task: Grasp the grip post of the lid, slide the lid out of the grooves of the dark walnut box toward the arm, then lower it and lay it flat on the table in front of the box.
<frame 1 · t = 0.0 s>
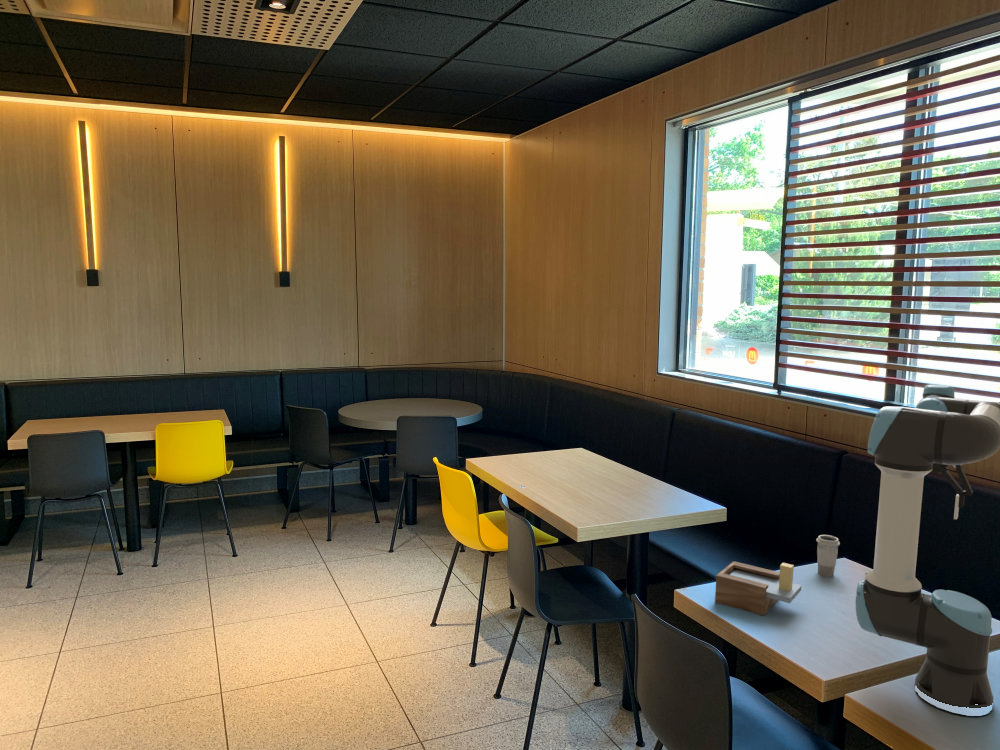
hand: (927, 513, 211), 28 cm above the table, fingers open, 13 cm apart
lid: (761, 587, 214), point 5 cm above the table, touching case
cup: (825, 574, 238), on the table
smartphone: (886, 585, 231), on the table
case: (747, 600, 217), on the table
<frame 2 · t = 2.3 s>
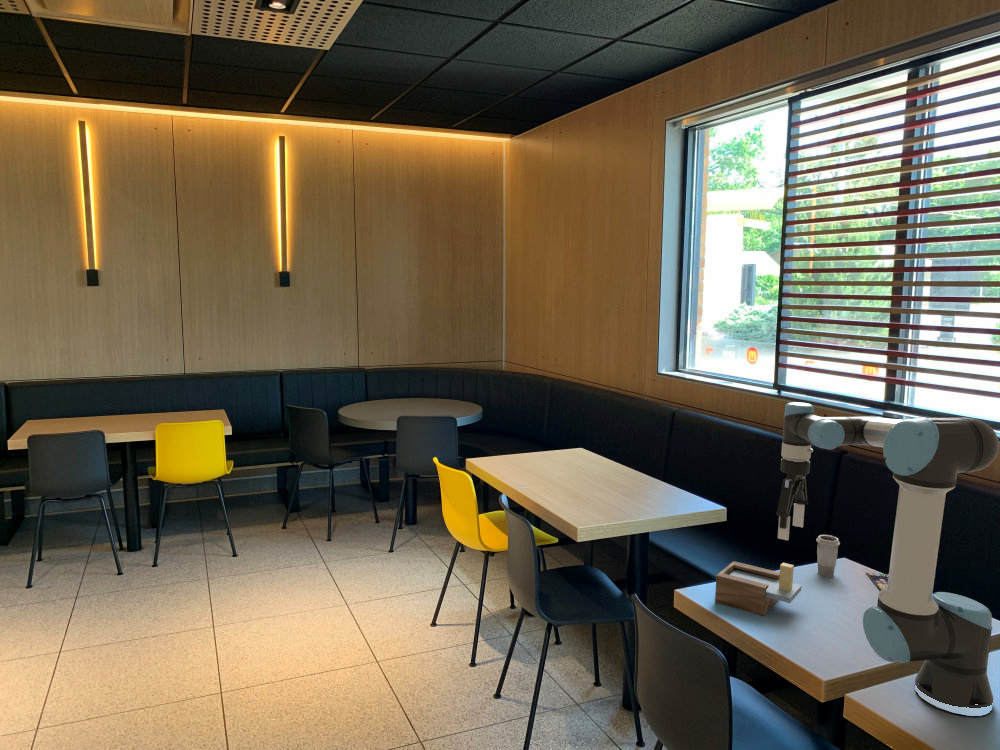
hand: (790, 532, 208), 23 cm above the table, fingers open, 13 cm apart
nothing on the table moved.
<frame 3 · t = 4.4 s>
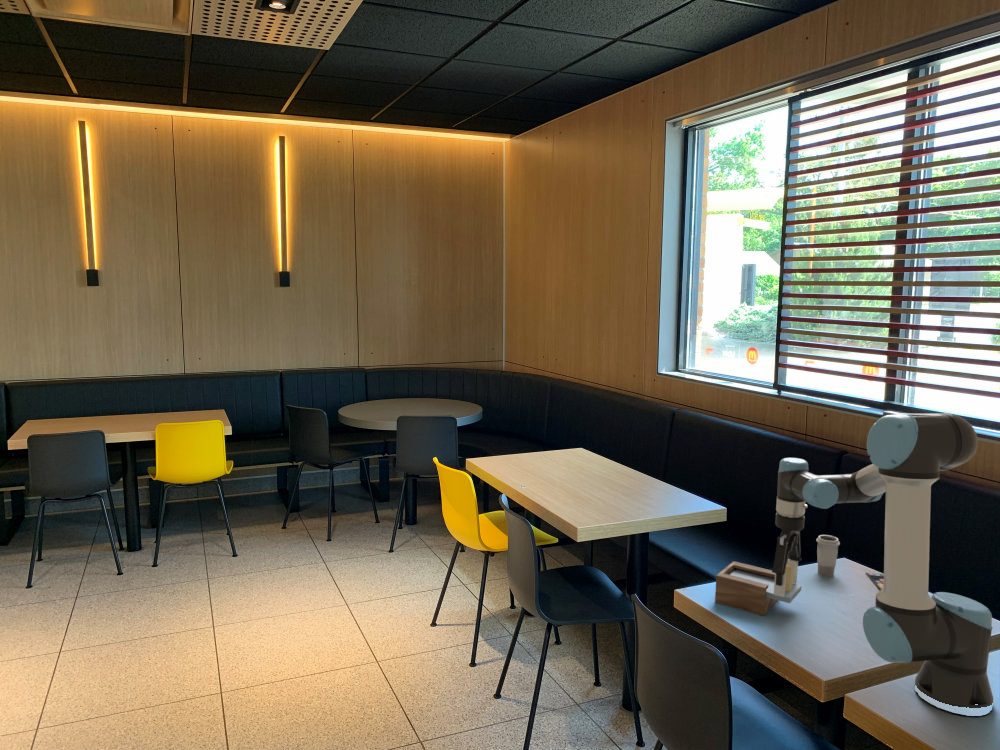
hand: (785, 588, 210), 7 cm above the table, fingers closed on lid, 11 cm apart
lid: (761, 587, 214), point 5 cm above the table, touching case, gripper
everything else where it was.
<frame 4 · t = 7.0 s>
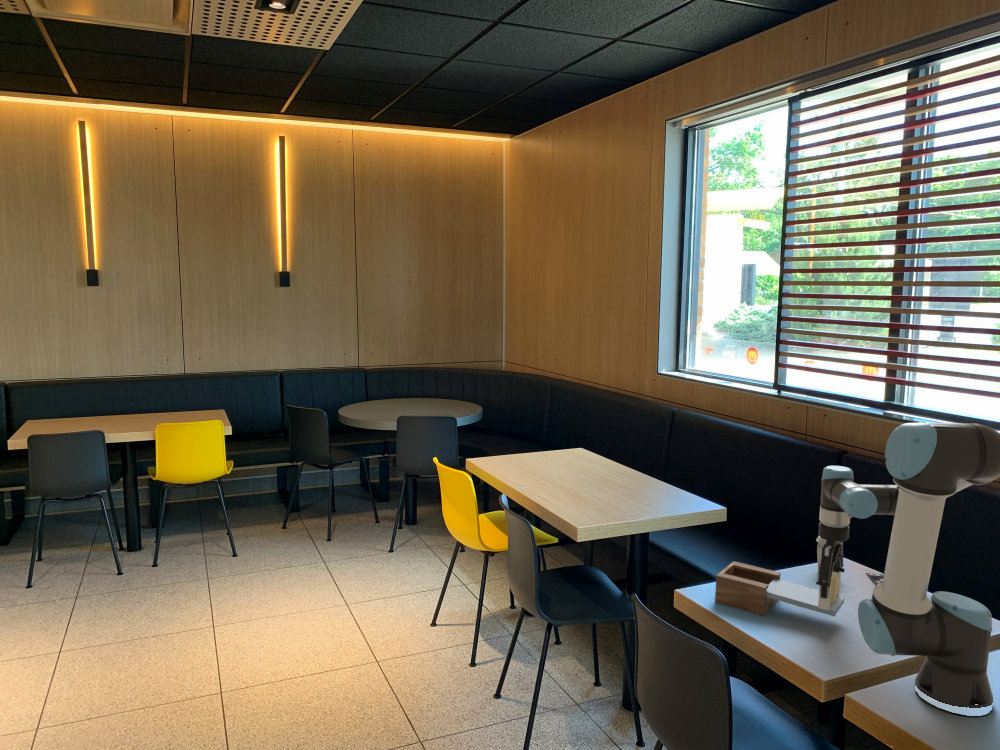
hand: (828, 601, 203), 6 cm above the table, fingers closed on lid, 11 cm apart
lid: (802, 599, 207), point 5 cm above the table, touching gripper
everything else where it was.
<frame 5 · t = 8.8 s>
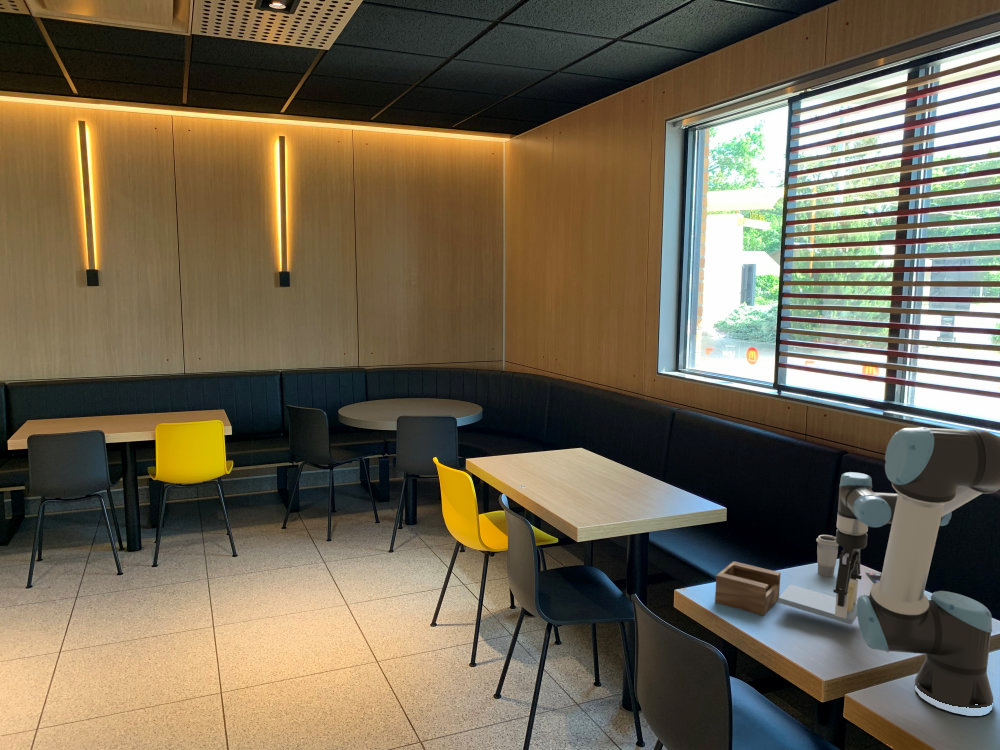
hand: (845, 609, 201), 5 cm above the table, fingers closed on lid, 11 cm apart
lid: (819, 606, 205), point 4 cm above the table, touching gripper
everything else where it was.
when the fingers open (2 cm above the table, at t = 9.9 s): lid drops 2 cm, on the table.
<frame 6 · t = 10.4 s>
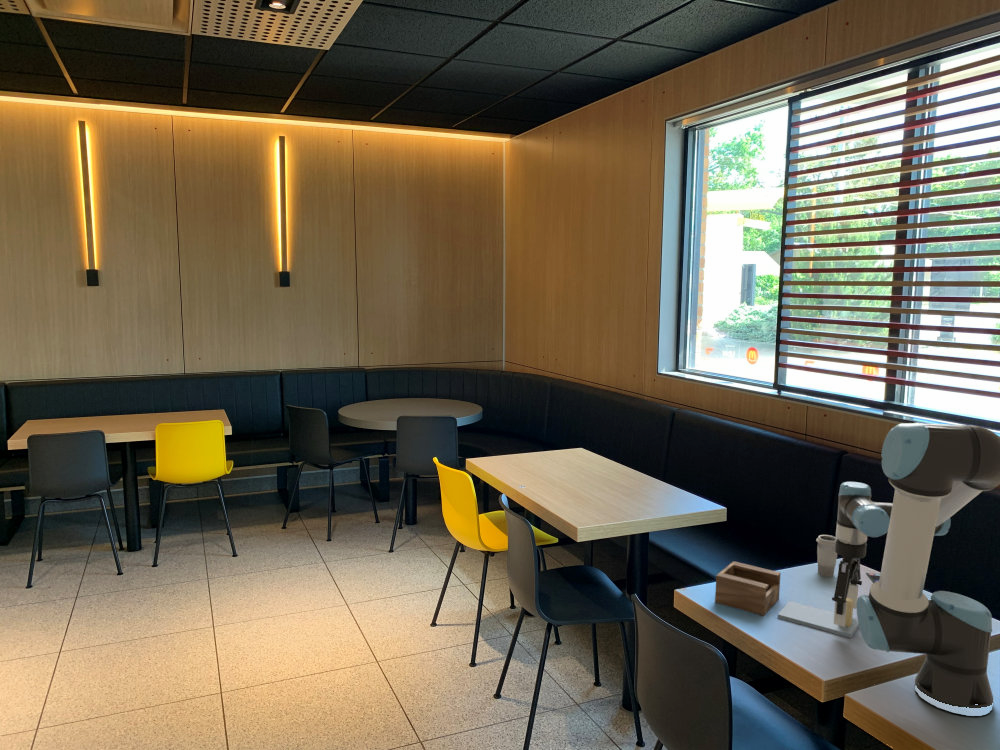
hand: (845, 615, 201), 3 cm above the table, fingers open, 13 cm apart
lid: (818, 622, 205), on the table
everything else where it was.
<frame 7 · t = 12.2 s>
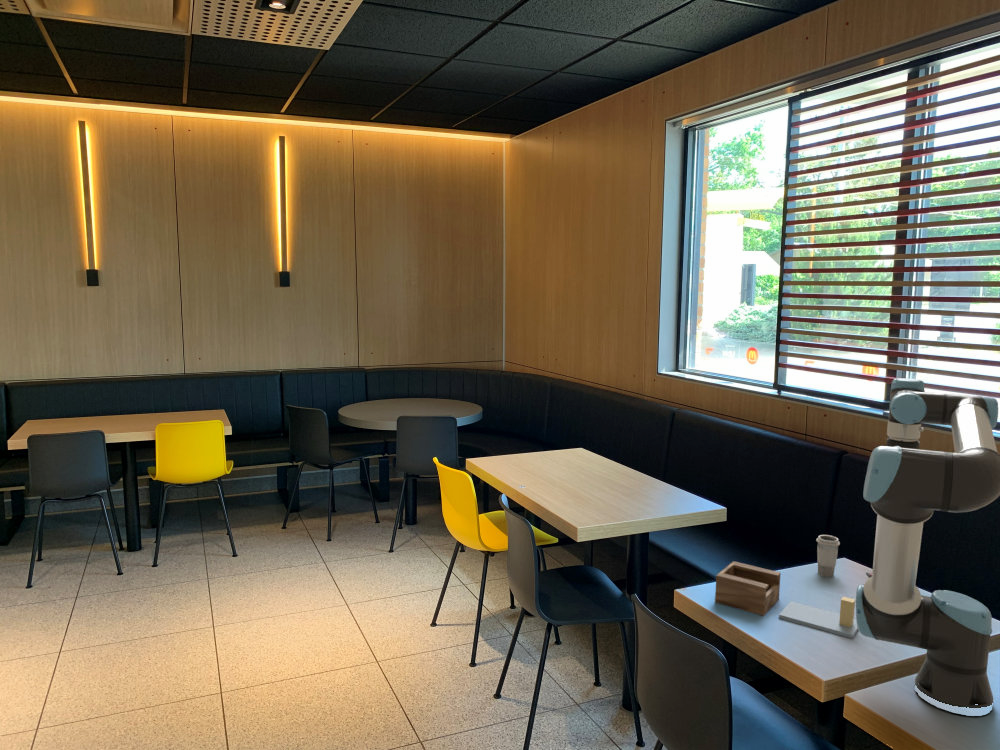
hand: (896, 518, 194), 32 cm above the table, fingers open, 13 cm apart
nothing on the table moved.
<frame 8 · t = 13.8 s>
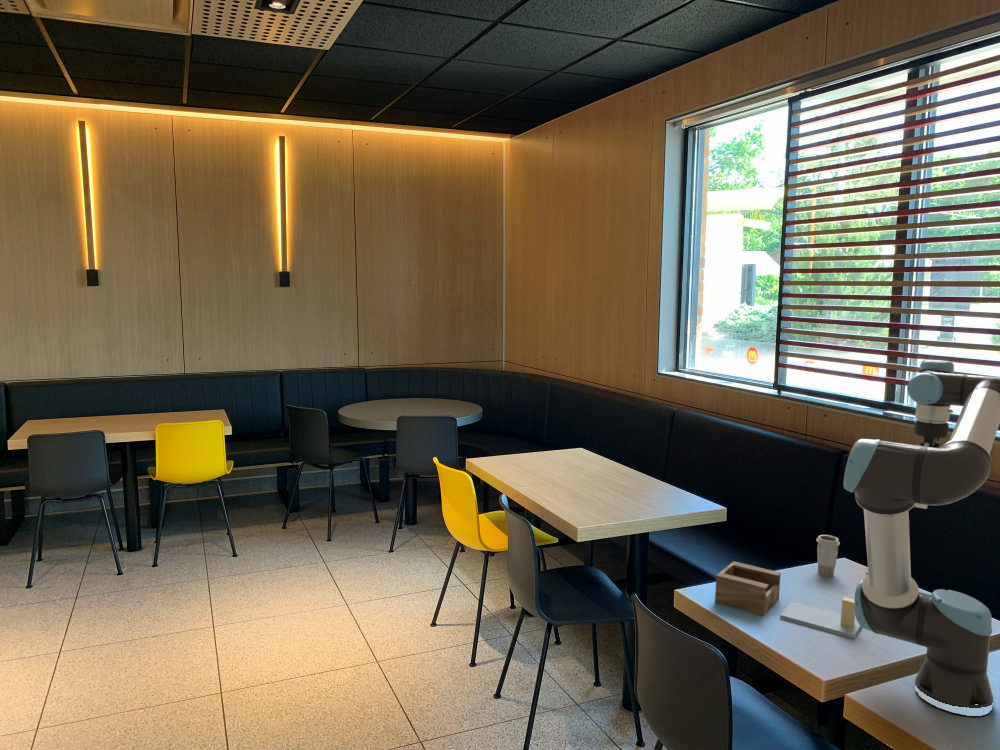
hand: (924, 501, 192), 37 cm above the table, fingers open, 13 cm apart
nothing on the table moved.
at the end: lid inside the target area (1.4 cm from its centre), on the table; lid tilted 0°; the gripper is holding nothing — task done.
